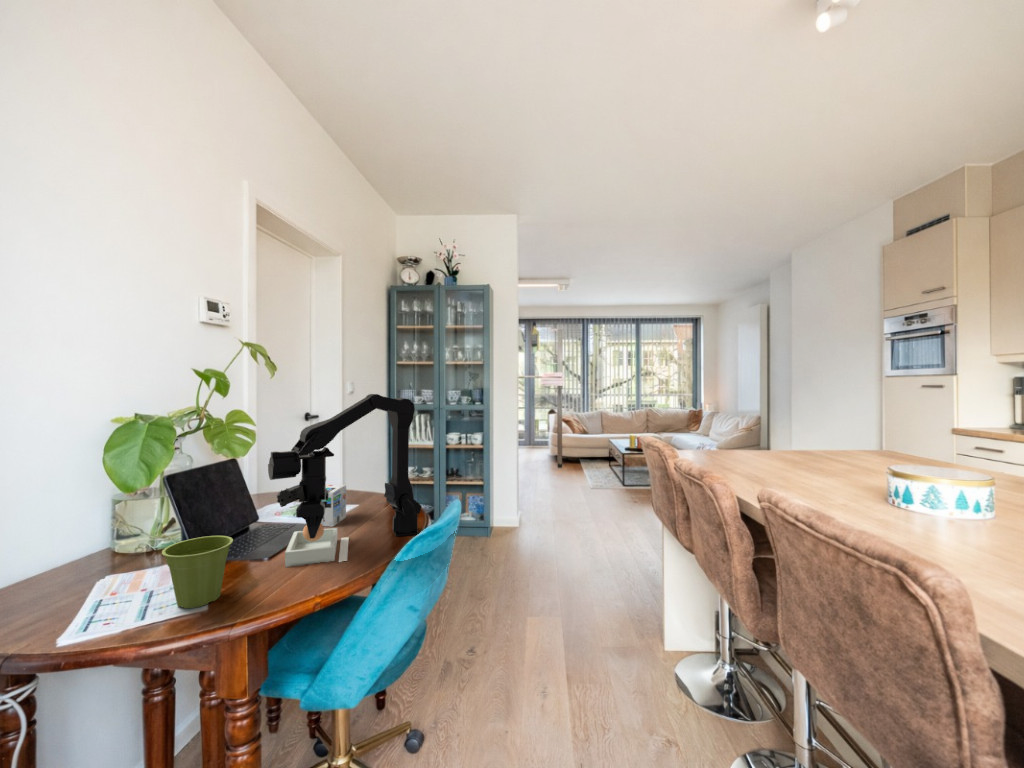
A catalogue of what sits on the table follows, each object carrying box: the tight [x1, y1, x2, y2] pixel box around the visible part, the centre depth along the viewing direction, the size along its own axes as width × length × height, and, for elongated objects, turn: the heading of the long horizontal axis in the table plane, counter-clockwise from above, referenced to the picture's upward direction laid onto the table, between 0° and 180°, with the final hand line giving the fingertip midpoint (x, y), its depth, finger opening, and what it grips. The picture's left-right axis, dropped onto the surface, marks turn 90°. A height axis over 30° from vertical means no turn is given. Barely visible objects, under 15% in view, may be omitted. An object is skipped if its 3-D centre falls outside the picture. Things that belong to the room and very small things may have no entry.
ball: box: [302, 523, 325, 541], centre depth 118 cm, size 5×5×5 cm
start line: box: [338, 536, 350, 563], centre depth 120 cm, size 2×18×1 cm, turn 19°
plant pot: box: [161, 535, 234, 609], centre depth 91 cm, size 12×12×11 cm
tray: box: [284, 527, 338, 568], centre depth 118 cm, size 11×16×4 cm
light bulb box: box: [321, 484, 347, 528], centre depth 144 cm, size 11×7×11 cm, turn 179°
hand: (313, 534), depth 118 cm, fingers closed on ball, 5 cm apart
